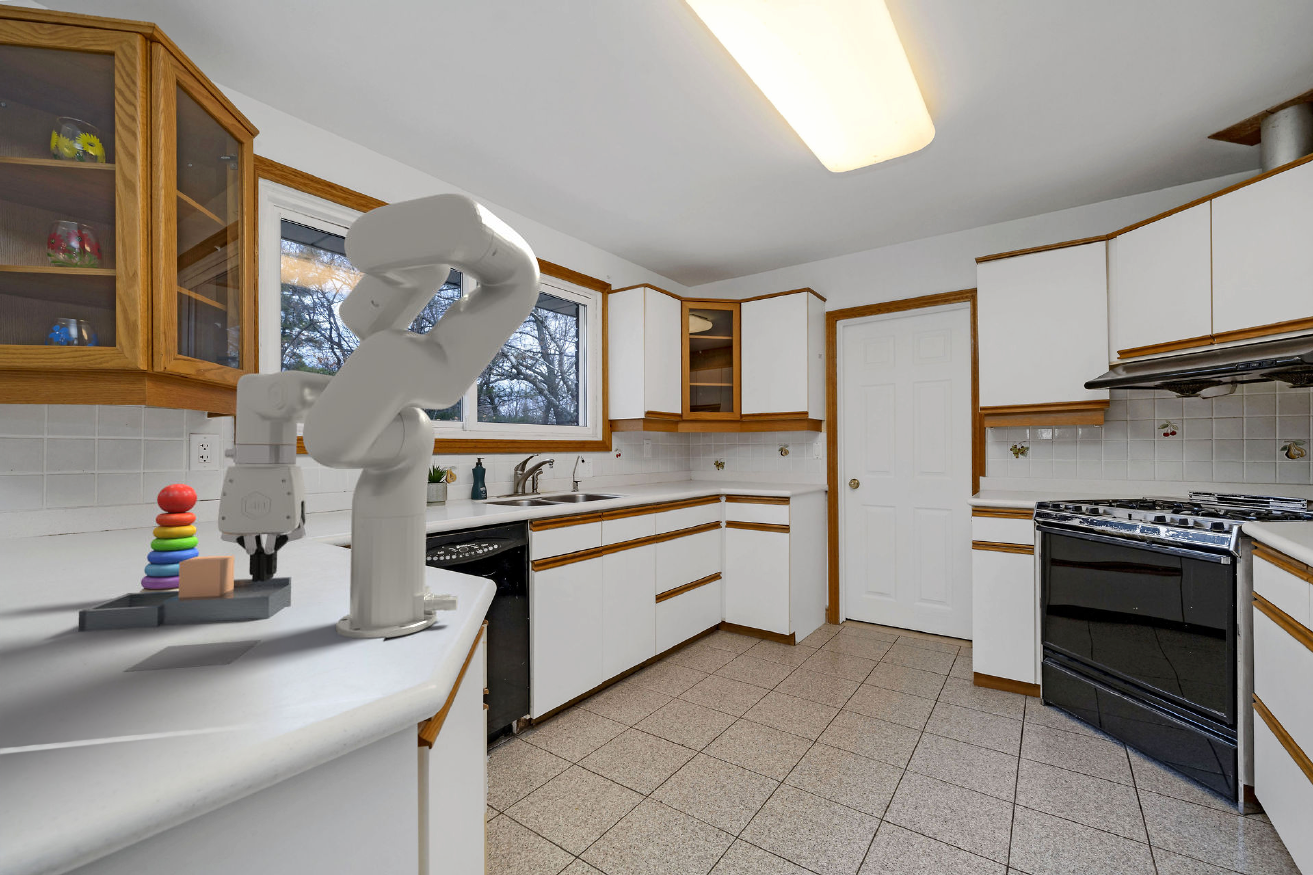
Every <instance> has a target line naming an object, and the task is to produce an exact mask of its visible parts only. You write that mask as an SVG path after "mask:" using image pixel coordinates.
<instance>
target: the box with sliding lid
mask: <svg viewBox="0 0 1313 875" xmlns="http://www.w3.org/2000/svg"><path fill="white" fill-rule="evenodd" d="M291 602H292V577H291V576H284V577H273V578H271V579H269V580H267V581H265V582H261V581H258V582H252V578H239V579H236V578H234V589H232V590H230V591H228V592H226V593H224V594H222V595H220V596H203V597H181V598H179V591H164V592H143V593H139V592H127V593H125V594H122V595H120V596H117V597H114V598H111V599H110V600H107V601H106V600H105V601H104V602H100V603H98V604H95V605H92V606H90V607H87V608H84V609H81V610H79V611H78V626H77V627H78V629H77V630H78V632H92V631H93V632H94V631H96V632H97V631H108V630H109V631H110V630H128V629H141V628H142V629H143V628H145V629H146V628H157V627H160V626H166V625H185V624H186V625H187V624H201V623H218V622H234V621H235V622H236V621H237V622H238V621H251V620H252V621H255V620H266V619H267V620H268V619H271V618H272V617H273V616H275V615H276V614H278V613H279V612H281V611H282V610H284V609H285V608H290V607H291V605H292V604H291Z"/></svg>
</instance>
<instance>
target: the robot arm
mask: <svg viewBox="0 0 1313 875" xmlns="http://www.w3.org/2000/svg"><path fill="white" fill-rule="evenodd" d="M343 243H344V244H343V245H344V252H345V256H346V259H347V260H348V261H349V263H350V264H351V265H352V266H353V267H354V268H355V269H356V270H358V271H359V272H361V273H363V276H362V277H361V278H360V279H359V281H358V283H356V284H355V286H354V287H353V289H352V290H351V291H350V292H349V294H348V295H347V296H346V297H345V298H344V300H343V301H342V302H341V303H340V305H339V308H338V314H339V315H338V317H339V318H340V319H341V321H342V323H343V325H344V326H345V327H346V328H347V329H348V330H349V331H350V332H351V333H352V334H353V335H354V336H356V337H357V339H358V341H359V345H358V346H356V348H355V349H354V350H353V351H352V353H351V354H350V355H349V356H348V358H347V359H346V360H345V362H344V363H343V364H342V365H341V367H340V368H339V370H338V371H337V372H336V374H335V375H329V374H322V373H316V372H310V371H309V372H308V371H303V370H301V371H300V370H291V369H290V370H283V371H282V370H281V371H279V372H274V373H270V374H269V373H247V374H244V375H242V376H241V377H240V378H239V379H238V381H237V384H236V385H237V387H236V417H235V418H236V419H235V444H233V447H232V448H226V449H225V450H224V457H225V458H226V459H232V460H233V461H232V462H233V463H234V465H233V466H232V465H231V466H227V469H226V472H225V475H224V479H223V484H222V486H221V487H222V489H221V493H220V500H219V508H218V518H217V527H218V531H219V532H220V533H221V535H220V540H222V541H224V542H228V543H234V544H238V545H239V546H240V547H242V548H243V549H244V550H245V553H246V554H247V555H249V571H248V572H249V575H250V576H251V579H252V582H258V581H261V582H265V581H267V580H269V579H271V578H274V575H275V574H277V570H278V552H279V551H280V550H281V549H282V548H283V547H284V546H285V545H286V544H287V543H288V542H292V541H294V542H295V541H298V540H301V539H303V538H305V537H306V530H305V525H306V519H307V507H306V506H307V503H306V490H305V482H304V476H303V472H302V467H301V466H299V465H297V464H296V463H297V443H298V442H297V440H298V434H297V433H298V424H303V430H302V441H303V445H304V447H305V448H304V449H305V450H306V452H307V454H308V455H309V456H310V458H311V459H312V460H314V461H315V462H316V463H318V464H320V465H322V466H324V467H327V468H329V469H336V470H358V469H359V470H360V469H361V472H360V475H359V477H358V479H357V481H356V484H355V487H354V490H353V493H352V500H351V516H350V518H351V521H350V523H351V524H350V525H351V526H350V576H349V577H350V579H349V584H350V585H349V614H347V615H344V616H343V617H341V618H340V619H338V621H336V625H335V626H336V629H335V631H336V633H337V634H339V635H340V636H343V637H346V638H347V637H348V638H354V639H379V638H380V639H381V638H385V639H388V638H394V637H400V636H405V635H409V634H413V633H417V632H420V631H422V630H425V629H427V628H429V627H431V626H432V625H434V623H435V622H436V621H437V611H443V612H445V611H446V612H447V611H457V610H458V602H459V601H458V599H459V598H458V596H457V595H455V596H454V595H453V596H451V594H450V593H449V594H448V593H447V594H440V595H439V594H438V595H434V593H431V585H426V561H427V560H426V558H427V557H426V555H427V554H426V552H427V545H426V542H427V510H428V508H427V506H428V503H427V502H428V482H429V472H430V468H431V463H432V457H433V452H434V448H435V437H436V436H435V429H434V428H435V427H434V425H433V423H432V420H431V418H430V417H429V415H428V414H427V413H426V412H425V411H424V410H423V409H425V410H445V409H449V408H451V407H453V406H455V405H456V404H457V403H458V402H459V401H460V400H461V399H462V398H463V397H464V396H465V394H466V393H467V392H468V390H469V389H471V387H472V385H473V384H474V383H475V382H476V381H477V379H478V378H480V376H481V374H482V373H483V372H484V371H485V370H486V368H488V365H489V364H491V362H492V361H493V359H494V358H495V357H496V356H497V354H498V352H499V351H500V350H501V349H502V347H504V345H505V344H506V343H507V341H508V340H509V339H510V338H511V337H512V336H513V335H514V334H515V333H516V331H517V330H518V329H519V328H520V327H521V326H522V325H523V323H525V321H526V320H527V319H528V317H529V316H530V315H531V313H532V311H534V308H535V306H536V304H537V303H538V302H537V301H538V299H539V296H540V292H541V287H542V286H541V285H542V284H541V283H542V282H541V281H542V279H541V271H540V266H539V263H538V260H537V258H536V255H535V254H534V252H533V250H532V248H531V247H530V245H529V244H528V243H527V242H526V241H525V240H524V239H523V238H522V237H521V235H520V234H518V233H517V232H516V231H515V230H514V229H513V228H512V227H510V226H509V225H508V224H506V223H505V222H504V221H502V220H501V219H500V218H498V217H497V216H496V215H494V214H493V213H492V212H491V211H489V210H488V208H486V207H484V205H482V204H480V203H479V202H478V201H476V200H475V199H473V198H471V197H469V196H466V195H464V194H460V193H439V194H435V195H429V196H423V197H420V198H415V199H410V200H403V201H400V202H396V203H395V202H394V203H390V204H387V205H383V206H379V207H376V208H373V209H371V210H369V211H367V212H365V213H363V214H361V215H360V216H359V217H357V219H355V220H354V221H353V223H351V225H350V227H349V228H348V230H347V232H346V234H345V238H344V242H343ZM451 268H452V269H455V270H456V271H458V272H460V273H462V274H464V275H465V276H468V277H469V278H471V279H474V280H476V281H477V286H476V288H474V289H473V290H472V291H470V292H468V293H466V294H464V295H463V296H461V297H459V298H458V299H457V300H455V301H454V302H453V303H451V305H450V306H449V307H448V308H447V309H446V310H445V311H444V313H443V314H442V316H441V317H440V318H439V320H438V321H437V322H436V323H435V325H434V326H432V328H431V329H430V330H429V331H428V332H425V333H424V334H422V333H421V334H420V333H416V332H414V331H410V330H407V329H408V328H409V327H410V326H411V324H412V323H413V322H414V321H415V320H416V318H418V316H419V315H420V313H421V312H422V311H423V310H424V309H425V307H426V306H427V305H428V304H429V302H431V301H432V299H433V297H434V296H435V295H436V294H437V293H438V292H439V291H440V289H441V288H442V287H443V285H444V284H445V283H446V282H447V280H448V279H449V275H450V273H451ZM263 535H267V536H266V540H265V545H264V541H263Z"/></svg>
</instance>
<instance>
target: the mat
mask: <svg viewBox="0 0 1313 875" xmlns="http://www.w3.org/2000/svg"><path fill="white" fill-rule="evenodd" d="M261 641H262V639H256V640H255V639H254V640H242V641H228V642H227V641H225V642H212V643H210V642H209V643H208V642H207V643H199V644H198V643H197V644H181V645H180V644H179V645H169V646H166V647H164V648H163V649H161V650H158V651H157V652H156V653H153V654H152V655H150V656H148V657H146V658H145V659H143V660H141V661H139V662H137V663H135V664H134V665H133V666H131V667H129V668H127V669H125V670H123V672H122V673H129V672H141V671H142V672H143V671H155V670H166V669H181V668H194V667H195V668H196V667H205V666H207V667H210V666H219V665H221V666H222V665H230V664H232V663H233V662H234V661H236V659H238V658H240V657H241V656H242V655H244V654H245V653H246V652H247V651H249V650H250V649H252V648H253V647H254V646H255V645H257V644H259V643H260V642H261Z"/></svg>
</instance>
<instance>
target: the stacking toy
mask: <svg viewBox="0 0 1313 875" xmlns="http://www.w3.org/2000/svg"><path fill="white" fill-rule="evenodd" d="M197 500H198V495H197V492H196V491H195V489H194V488H193V487H192V486H189V485H188V484H183V483H172V484H169V485H166V486H165V487H164V488H162V489H161V490H160V491H159V493H158V494H157V498H156V502H157V505H158V507H159V508H160V510H162V511H163V512H161V513H159V514H158V515H157V516H156V518H155V523H156V524H157V525H158V526H156V527H155V528H154V529H153V531H152V536H153V537H154V539H152V541H151V542H150V548H151V549H152V551H149V552H148V554H147V556H146V559H147V561H148V564H146V566H144V569H143V571H144V573H145V576H143V578H141V580H140V584H141V587H143V588H142V589H141V590H140V591H139V592H138V593H143V592H164V591H179V562H182V561H185V560H188V559H191V558H194V557H199V555H200V552H199V549H197V548H196V547H197V546H198V544H199V539H198V538H197V536H195V534H196V533H197V528H196V526H195V525H193V524H194V523H195V522H196V519H197V517H196V514H195V513H193V512H190V511H191V510H192V509H193V508H194V506H195V505H196V504H197Z"/></svg>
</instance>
